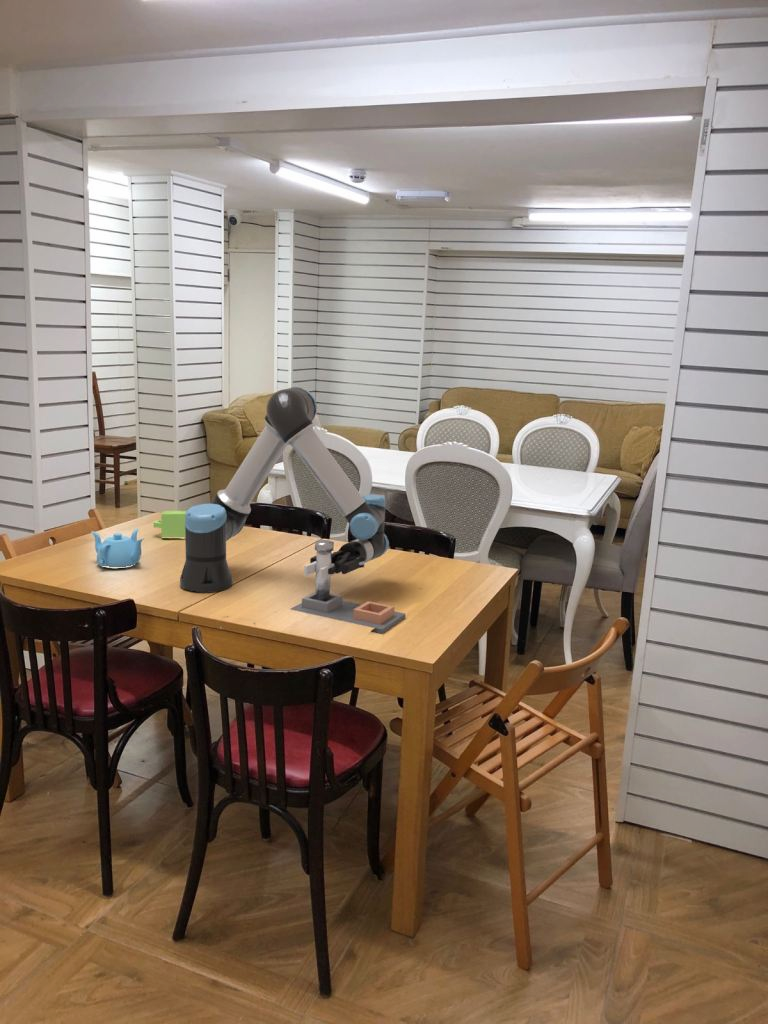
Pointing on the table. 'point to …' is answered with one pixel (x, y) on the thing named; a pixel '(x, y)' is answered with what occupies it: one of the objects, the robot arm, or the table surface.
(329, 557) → the pin
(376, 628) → the dock board
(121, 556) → the teapot
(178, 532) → the gearbox
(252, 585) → the table surface
